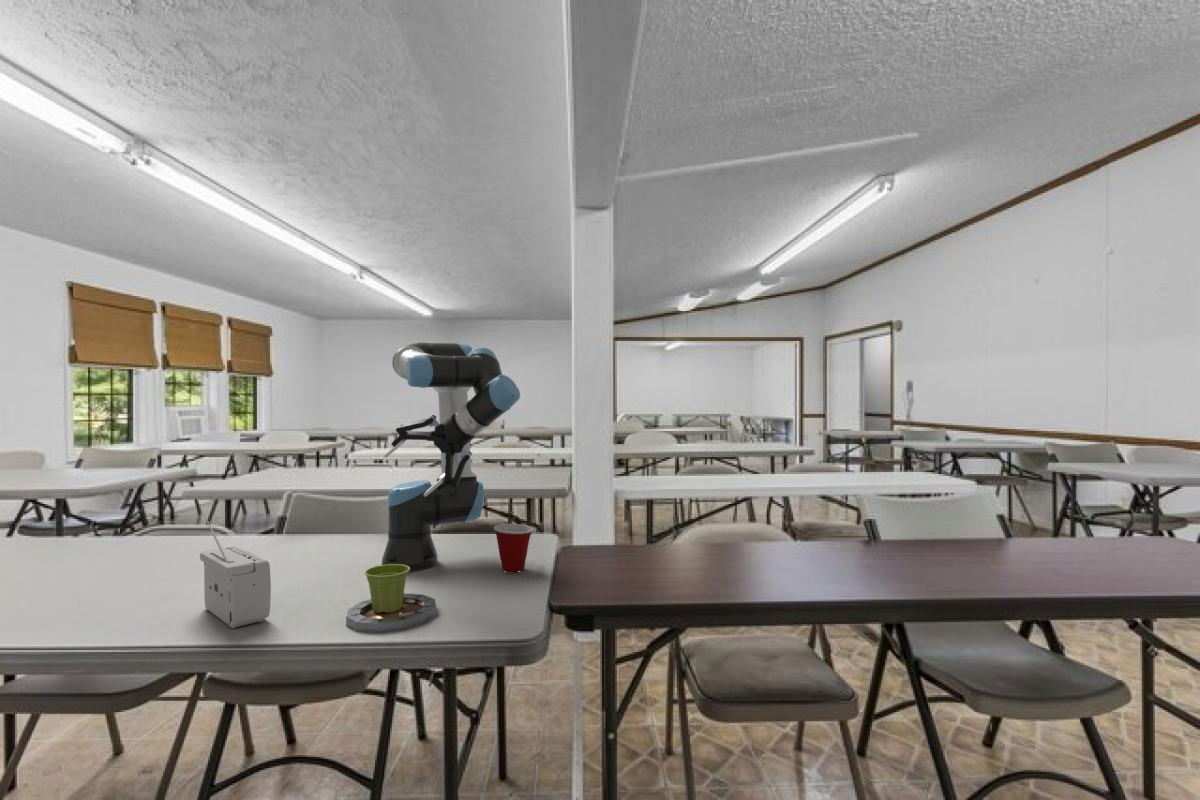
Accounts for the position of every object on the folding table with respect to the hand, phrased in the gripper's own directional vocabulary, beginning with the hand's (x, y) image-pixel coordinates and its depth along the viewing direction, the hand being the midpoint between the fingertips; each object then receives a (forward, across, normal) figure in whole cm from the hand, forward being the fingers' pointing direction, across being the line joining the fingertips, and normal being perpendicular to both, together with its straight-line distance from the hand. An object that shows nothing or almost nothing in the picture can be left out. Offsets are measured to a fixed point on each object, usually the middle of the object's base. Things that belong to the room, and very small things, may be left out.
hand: (406, 474), depth 146 cm
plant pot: (+11, +18, -25) cm, 33 cm away
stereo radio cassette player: (+37, -3, -29) cm, 47 cm away
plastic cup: (+2, +40, +6) cm, 40 cm away
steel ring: (+9, +19, -27) cm, 34 cm away
